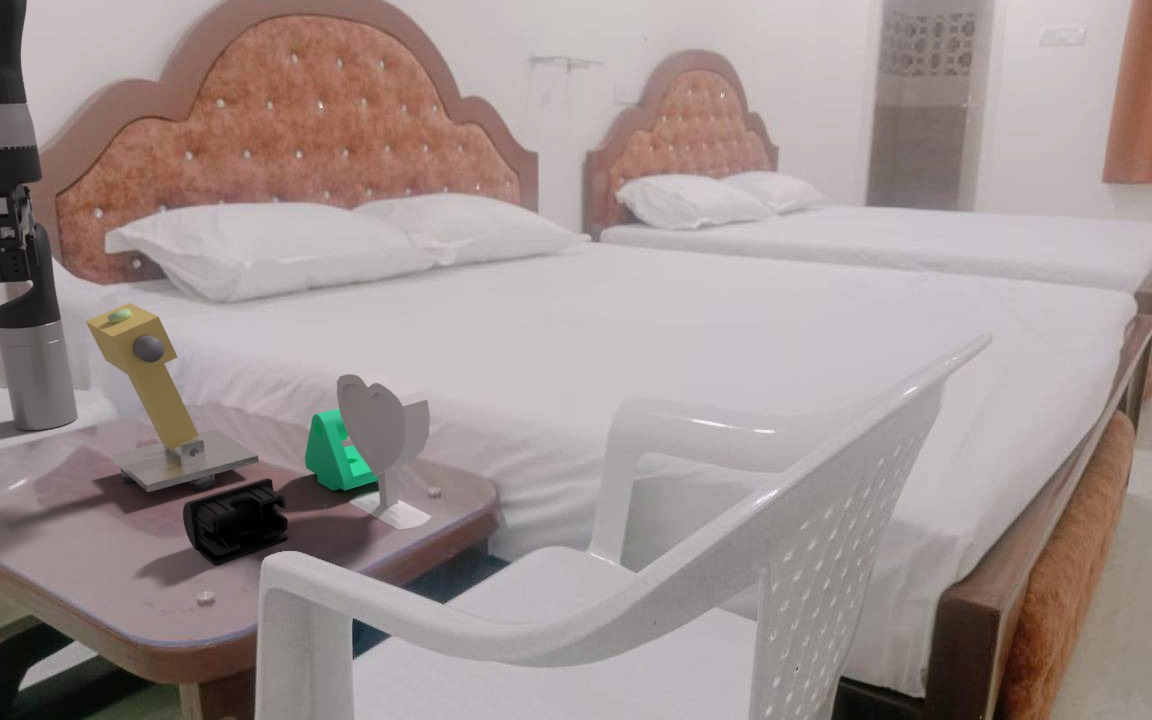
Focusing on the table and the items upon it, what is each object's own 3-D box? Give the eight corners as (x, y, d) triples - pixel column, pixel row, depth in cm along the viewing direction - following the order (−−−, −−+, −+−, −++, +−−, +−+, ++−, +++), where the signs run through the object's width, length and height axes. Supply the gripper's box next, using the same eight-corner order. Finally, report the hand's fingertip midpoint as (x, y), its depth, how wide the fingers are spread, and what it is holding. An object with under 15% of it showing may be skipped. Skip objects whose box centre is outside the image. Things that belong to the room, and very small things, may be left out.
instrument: (141, 435, 130) (78, 313, 121) (180, 415, 133) (122, 295, 125) (180, 465, 118) (114, 333, 110) (222, 443, 122) (161, 313, 113)
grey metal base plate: (114, 474, 128) (108, 434, 126) (220, 447, 138) (215, 410, 136) (149, 506, 117) (142, 464, 116) (261, 475, 127) (256, 435, 125)
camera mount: (396, 482, 123) (389, 411, 120) (345, 498, 118) (337, 424, 115) (356, 461, 132) (349, 394, 129) (306, 475, 127) (298, 405, 124)
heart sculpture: (340, 497, 119) (329, 368, 114) (373, 486, 123) (363, 360, 118) (407, 534, 109) (397, 393, 104) (441, 521, 112) (433, 384, 107)
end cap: (266, 521, 113) (260, 471, 111) (293, 539, 108) (287, 488, 106) (186, 548, 106) (179, 495, 104) (211, 568, 101) (204, 514, 99)
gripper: (-25, 140, 113) (-1, 267, 117) (-49, 147, 100) (-21, 288, 105) (43, 139, 116) (64, 262, 120) (28, 145, 103) (52, 283, 108)
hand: (24, 274), depth 113 cm, fingers open, 8 cm apart
